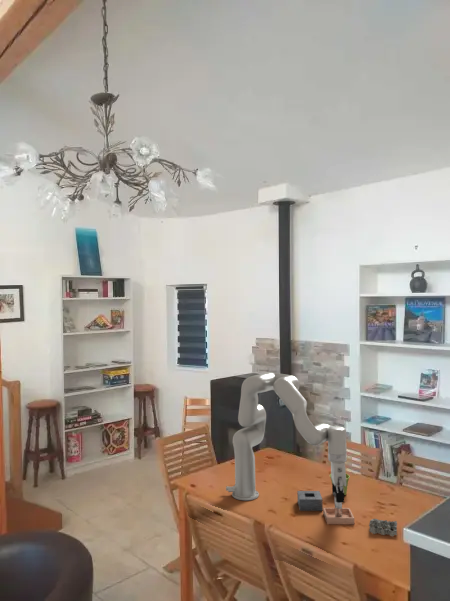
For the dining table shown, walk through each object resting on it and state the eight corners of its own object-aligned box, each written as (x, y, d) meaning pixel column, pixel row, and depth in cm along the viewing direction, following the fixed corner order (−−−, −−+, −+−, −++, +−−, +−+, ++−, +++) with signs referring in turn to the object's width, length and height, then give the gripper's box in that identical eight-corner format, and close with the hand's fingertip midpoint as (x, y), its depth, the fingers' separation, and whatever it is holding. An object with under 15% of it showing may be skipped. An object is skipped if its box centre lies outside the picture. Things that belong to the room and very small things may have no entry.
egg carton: (368, 533, 196) (367, 523, 196) (370, 526, 203) (370, 515, 203) (396, 538, 192) (396, 527, 192) (398, 529, 199) (397, 519, 199)
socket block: (299, 510, 218) (299, 499, 218) (297, 501, 228) (297, 490, 228) (322, 510, 218) (322, 499, 218) (319, 501, 228) (319, 490, 228)
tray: (327, 524, 204) (326, 517, 205) (323, 513, 215) (323, 507, 215) (354, 524, 204) (354, 518, 204) (349, 513, 214) (349, 508, 214)
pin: (344, 519, 207) (343, 494, 207) (334, 519, 207) (333, 494, 208) (342, 515, 211) (341, 491, 211) (333, 515, 211) (332, 491, 212)
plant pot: (350, 498, 231) (350, 479, 232) (329, 496, 233) (329, 478, 233) (349, 490, 241) (349, 472, 241) (329, 489, 242) (329, 471, 243)
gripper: (350, 463, 201) (351, 505, 201) (342, 450, 218) (343, 490, 218) (331, 463, 201) (332, 505, 201) (325, 450, 218) (326, 490, 218)
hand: (338, 497), depth 209 cm, fingers open, 9 cm apart
